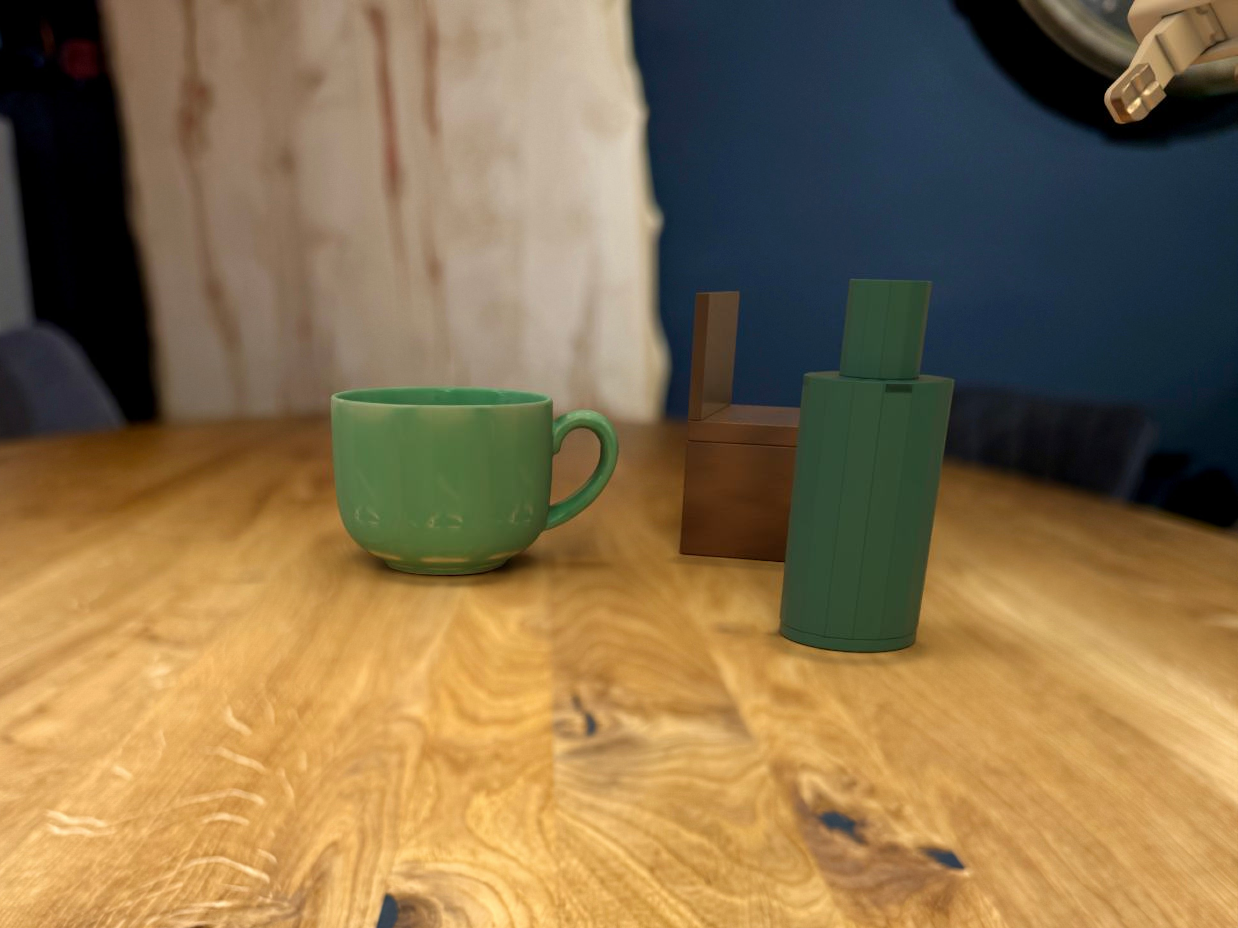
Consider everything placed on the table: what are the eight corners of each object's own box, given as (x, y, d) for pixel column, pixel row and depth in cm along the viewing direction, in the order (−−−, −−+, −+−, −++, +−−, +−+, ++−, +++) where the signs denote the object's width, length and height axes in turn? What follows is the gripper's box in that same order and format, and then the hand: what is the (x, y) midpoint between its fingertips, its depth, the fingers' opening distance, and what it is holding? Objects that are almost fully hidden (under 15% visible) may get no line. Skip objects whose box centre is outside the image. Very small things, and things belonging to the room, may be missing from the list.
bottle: (893, 618, 68) (940, 280, 61) (933, 652, 62) (990, 282, 55) (767, 617, 68) (800, 277, 61) (795, 651, 62) (835, 278, 55)
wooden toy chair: (866, 533, 91) (897, 295, 84) (854, 567, 80) (887, 298, 74) (710, 522, 93) (727, 290, 87) (679, 553, 83) (696, 292, 76)
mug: (322, 583, 73) (312, 401, 69) (353, 540, 84) (346, 382, 80) (618, 590, 73) (627, 409, 69) (610, 547, 84) (616, 390, 80)
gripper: (1247, -164, 62) (1022, 67, 65) (1642, -337, 44) (1309, -7, 47) (1303, -44, 65) (1085, 174, 68) (1697, -160, 47) (1380, 142, 50)
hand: (1179, 99), depth 57 cm, fingers open, 8 cm apart
